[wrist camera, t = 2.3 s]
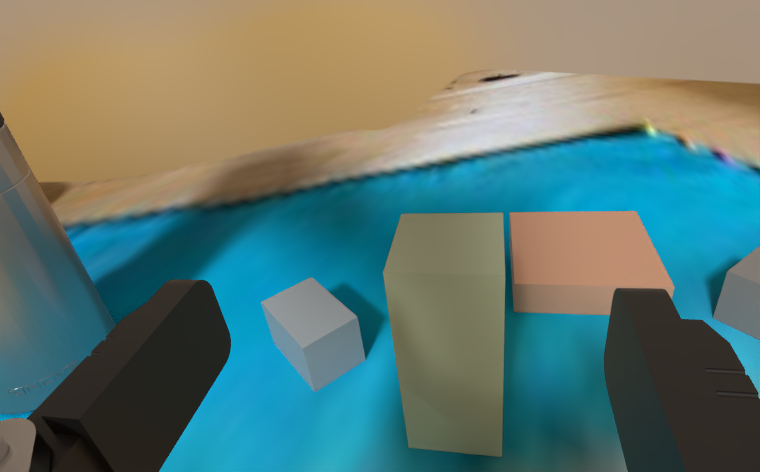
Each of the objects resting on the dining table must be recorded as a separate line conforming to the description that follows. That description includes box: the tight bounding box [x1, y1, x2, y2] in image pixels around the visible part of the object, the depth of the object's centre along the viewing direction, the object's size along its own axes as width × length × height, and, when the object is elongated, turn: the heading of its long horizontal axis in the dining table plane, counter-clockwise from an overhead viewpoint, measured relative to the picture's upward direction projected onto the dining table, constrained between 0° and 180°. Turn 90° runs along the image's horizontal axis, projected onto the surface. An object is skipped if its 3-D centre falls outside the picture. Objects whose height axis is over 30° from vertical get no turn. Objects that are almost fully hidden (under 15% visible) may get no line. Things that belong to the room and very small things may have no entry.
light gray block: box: [261, 277, 366, 392], centre depth 33 cm, size 6×4×4 cm, turn 37°
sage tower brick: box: [383, 213, 505, 457], centre depth 25 cm, size 5×5×12 cm
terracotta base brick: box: [509, 211, 675, 315], centre depth 37 cm, size 10×10×3 cm
